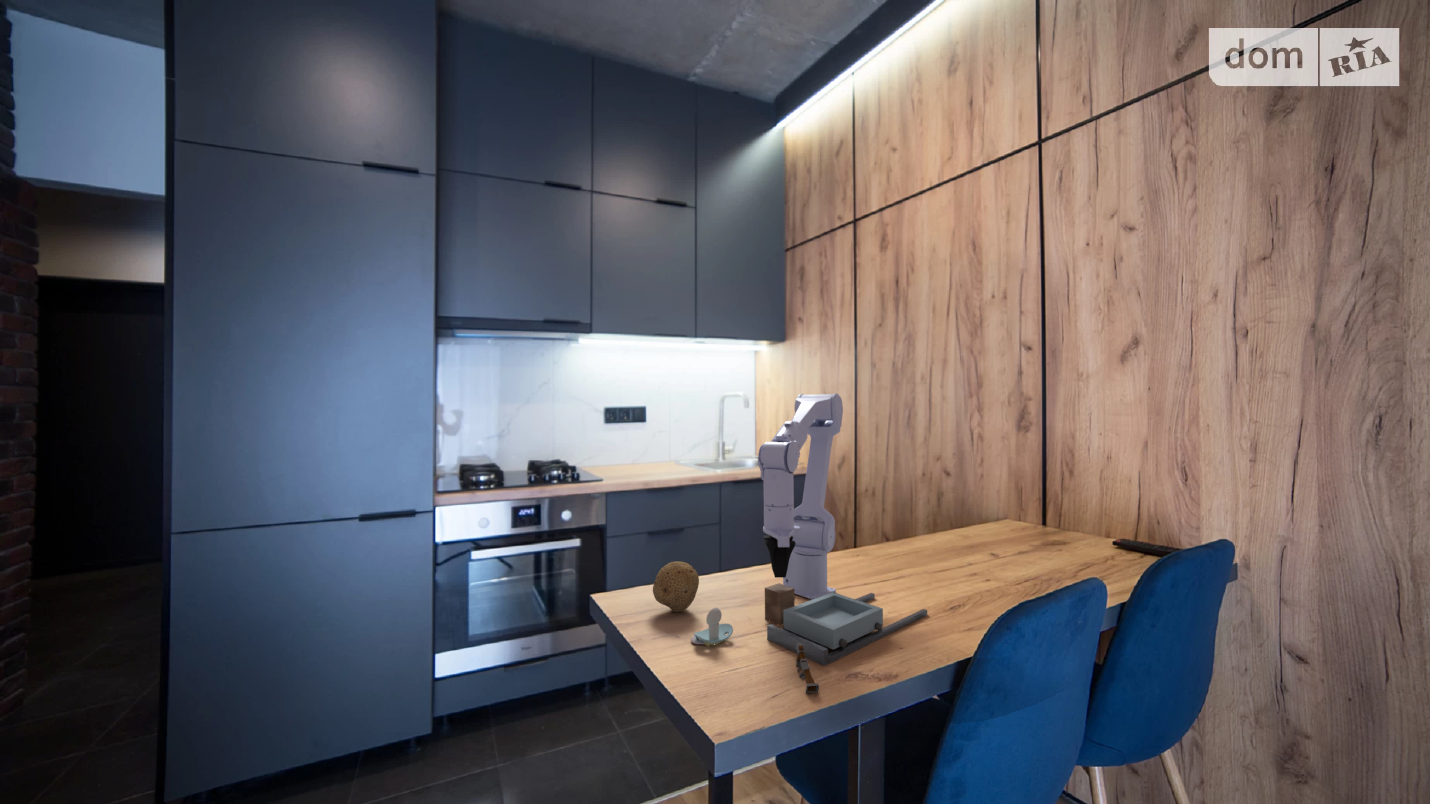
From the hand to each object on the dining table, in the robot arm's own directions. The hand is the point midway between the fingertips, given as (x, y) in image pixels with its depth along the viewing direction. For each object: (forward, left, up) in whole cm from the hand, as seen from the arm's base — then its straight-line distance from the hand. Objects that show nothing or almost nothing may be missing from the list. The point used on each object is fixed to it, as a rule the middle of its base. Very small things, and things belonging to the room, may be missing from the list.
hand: (779, 575), depth 103 cm
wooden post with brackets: (+18, -14, -9) cm, 25 cm away
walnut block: (0, 0, -8) cm, 8 cm away
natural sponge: (-16, -13, -9) cm, 22 cm away
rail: (+11, +8, -8) cm, 16 cm away
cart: (+11, +2, -7) cm, 13 cm away
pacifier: (-2, -16, -9) cm, 18 cm away
